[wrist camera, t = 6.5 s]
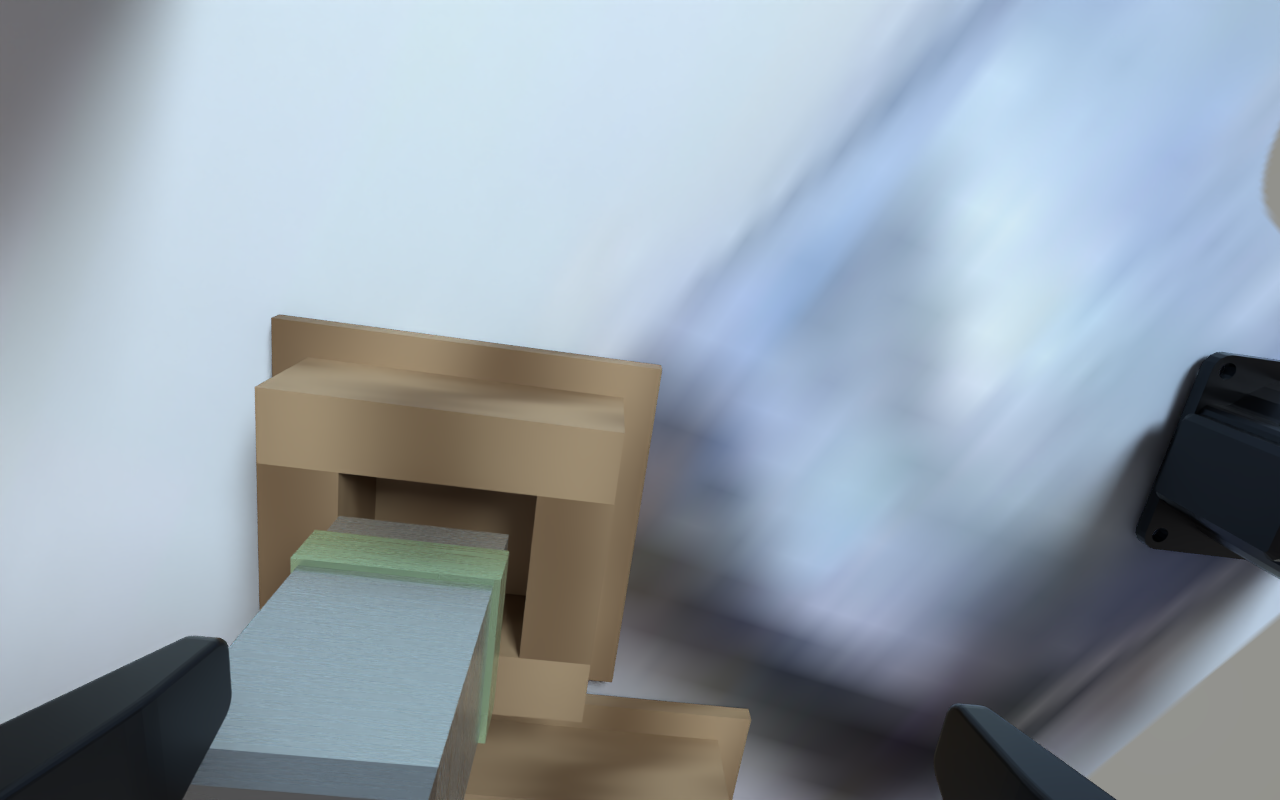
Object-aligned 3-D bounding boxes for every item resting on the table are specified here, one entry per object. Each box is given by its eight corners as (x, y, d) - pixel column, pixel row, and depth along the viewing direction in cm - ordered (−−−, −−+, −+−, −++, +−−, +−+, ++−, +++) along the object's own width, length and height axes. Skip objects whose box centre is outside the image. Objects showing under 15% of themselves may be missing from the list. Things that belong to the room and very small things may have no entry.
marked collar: (661, 365, 20) (672, 410, 16) (611, 672, 23) (611, 775, 19) (279, 314, 19) (190, 348, 15) (282, 640, 23) (209, 741, 18)
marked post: (515, 529, 16) (438, 795, 9) (500, 677, 18) (422, 1012, 10) (332, 509, 16) (106, 768, 9) (330, 661, 17) (130, 995, 10)
